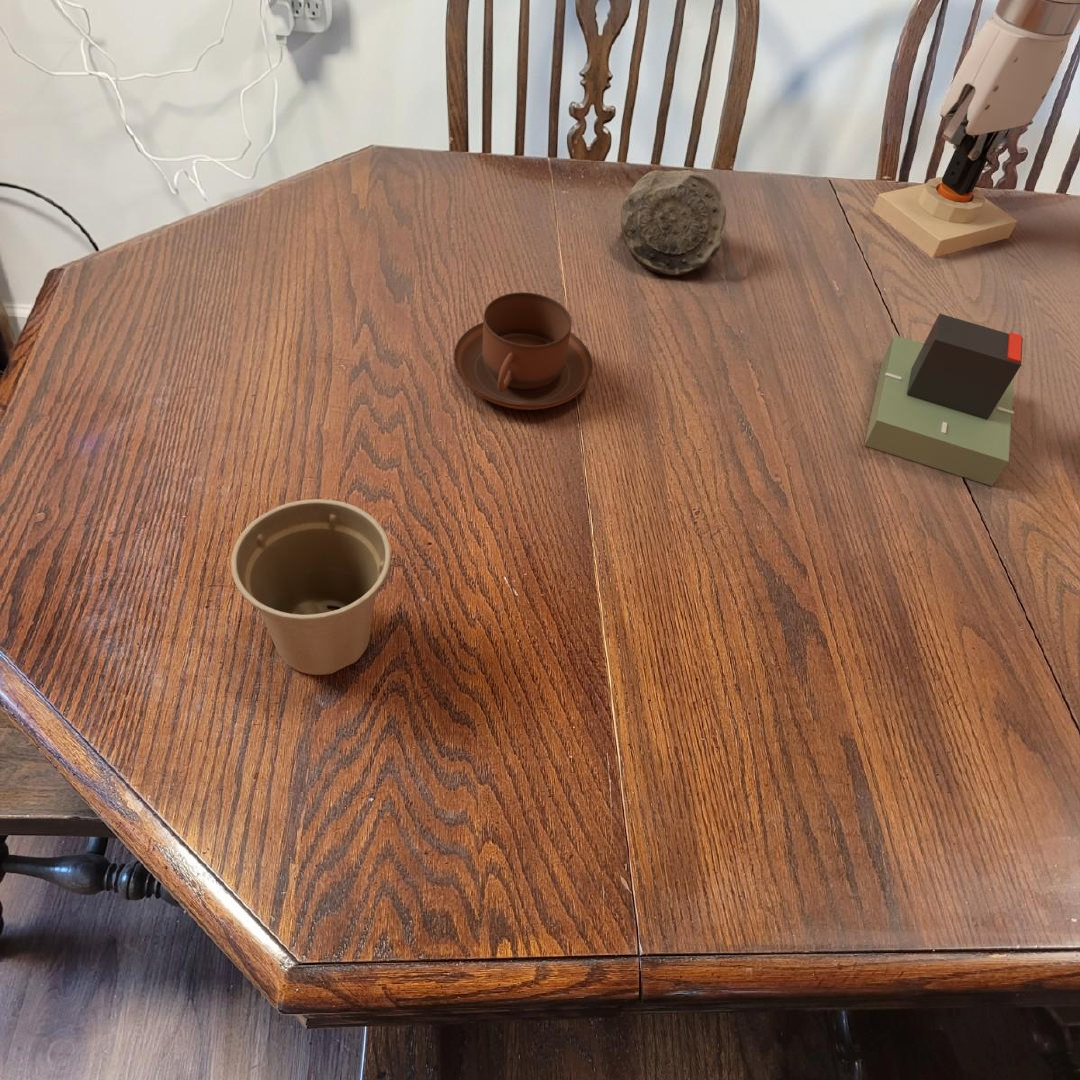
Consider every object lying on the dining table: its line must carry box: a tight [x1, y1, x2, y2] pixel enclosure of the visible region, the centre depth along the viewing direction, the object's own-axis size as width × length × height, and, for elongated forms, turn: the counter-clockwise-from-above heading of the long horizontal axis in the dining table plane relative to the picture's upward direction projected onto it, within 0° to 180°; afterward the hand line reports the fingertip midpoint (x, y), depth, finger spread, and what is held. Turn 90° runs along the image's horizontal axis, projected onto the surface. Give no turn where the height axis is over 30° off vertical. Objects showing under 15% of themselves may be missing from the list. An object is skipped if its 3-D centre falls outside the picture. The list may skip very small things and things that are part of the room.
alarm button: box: [937, 183, 973, 203], centre depth 104 cm, size 4×4×2 cm
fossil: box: [620, 169, 727, 277], centre depth 96 cm, size 11×9×10 cm
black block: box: [907, 313, 1024, 419], centre depth 80 cm, size 7×4×6 cm, turn 69°
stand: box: [863, 334, 1015, 487], centre depth 83 cm, size 13×11×3 cm
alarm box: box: [871, 176, 1018, 259], centre depth 106 cm, size 12×10×4 cm
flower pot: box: [230, 498, 392, 676], centre depth 60 cm, size 9×9×9 cm
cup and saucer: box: [453, 291, 593, 411], centre depth 80 cm, size 12×12×6 cm
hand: (956, 187), depth 104 cm, fingers closed
